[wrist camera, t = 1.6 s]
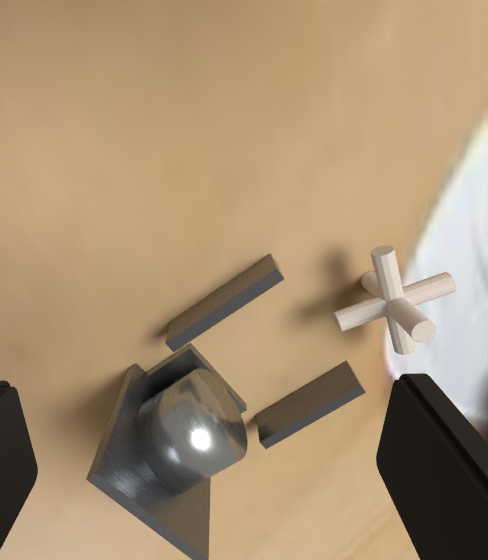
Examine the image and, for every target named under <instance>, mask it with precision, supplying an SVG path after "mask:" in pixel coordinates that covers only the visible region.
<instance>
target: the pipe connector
mask: <svg viewBox="0 0 488 560" xmlns="http://www.w3.org/2000/svg"><path fill="white" fill-rule="evenodd" d="M371 257H372V261H373V265H374V269H375V272H368V273H366V274H364V275H363V277H362V279H361V284H362V286H363V287H364V288H365V289H366V290H367V291H368V292H369V293H370V294H371V295H372V296H373V298H371V299H369V300H366V301H363V302H360V303H358V304H355V305H352V306H349V307H346V308H344V309H341V310H338V311H335V312H333V314H334V318H335V320H336V323H337V325H338V327H339V329H340V331H341V332H342V331H345V330H348V329H351V328H354V327H356V326H359V325H362V324H365V323H368V322H371V321H373V320H376V319H379V318H382V317H385V316H386V318H387V322H388V327H389V331H390V335H391V339H392V343H393V347H394V351H395V352H396V353H398V354H402V355H405V354H410V353H412V352H413V351H414V350H415V344H414V341H416V342H418V343H423V342H427V341H429V340H430V339H431V338H432V337H433V336H434V335H435V332H436V327H435V325H434V324H433V323H432V322H431V321H430V320H429V319H428V318H426V317H425V316H424V315H423V314H422V313H421V312H420V311H419V310H417V309H416V308H415V307H414V306H416V305H419V304H421V303H424V302H427V301H430V300H433V299H436V298H438V297H441V296H444V295H447V294H450V293H453V292H455V291H456V284H455V281H454V279H453V278H452V276H451V275H450V274H449V273H447V272H444V273H441V274H438V275H436V276H433V277H430V278H427V279H424V280H422V281H419V282H416V283H413V284H411V285H408V286H405V287H402V284H401V279H400V275H399V270H398V265H397V261H396V256H395V251H394V248H393V247H391V246H382V247H378V248H376V249H374V250H372V251H371Z"/></svg>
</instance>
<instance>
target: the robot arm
mask: <svg viewBox="0 0 488 560" xmlns="http://www.w3.org/2000/svg"><path fill="white" fill-rule="evenodd" d="M376 462H377V467H378V470H379V473H380V475H381V477H382V479H383V481H384V483H385V485H386V488H387V490H388V492H389V494H390V496H391V498H392V500H393V502H394V505H395V507H396V509H397V511H398V513H399V515H400V517H401V519H402V522H403V524H404V526H405V528H406V530H407V532H408V534H409V536H410V539H411V541H412V543H413V545H414V547H415V549H416V551H417V553H418V556H419V558H420V560H488V444H487V442H486V441H485V440H484V439H483V438H482V437H481V435H480V434H479V433H478V432H477V431H476V430H475V428H474V427H473V426H472V425H471V424H470V423H469V421H468V420H467V419H466V418H465V417H464V416H463V414H462V413H461V412H460V411H459V410H458V409H457V408H456V406H455V405H454V404H453V403H452V402H451V401H450V399H449V398H448V397H447V396H446V395H445V394H444V392H443V391H442V390H441V389H440V388H439V387H438V385H437V384H436V383H435V382H434V381H433V380H432V379H431V377H430V376H428V375H427V374H402V375H401V376H400V378H399V380H395V381H394V383H393V387H392V391H391V395H390V400H389V404H388V408H387V412H386V417H385V421H384V425H383V430H382V434H381V438H380V442H379V447H378V451H377V456H376ZM37 473H38V468H37V463H36V459H35V456H34V452H33V448H32V444H31V441H30V437H29V433H28V429H27V426H26V422H25V418H24V414H23V411H22V407H21V403H20V399H19V396H18V392H17V389H16V388H15V387H11V386H10V384H9V383H8V382H7V381H0V549H1V547H2V545H3V543H4V541H5V539H6V537H7V535H8V534H9V532H10V530H11V528H12V526H13V524H14V522H15V520H16V518H17V516H18V514H19V513H20V511H21V509H22V507H23V505H24V503H25V501H26V499H27V497H28V495H29V493H30V492H31V490H32V488H33V486H34V484H35V481H36V478H37Z"/></svg>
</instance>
